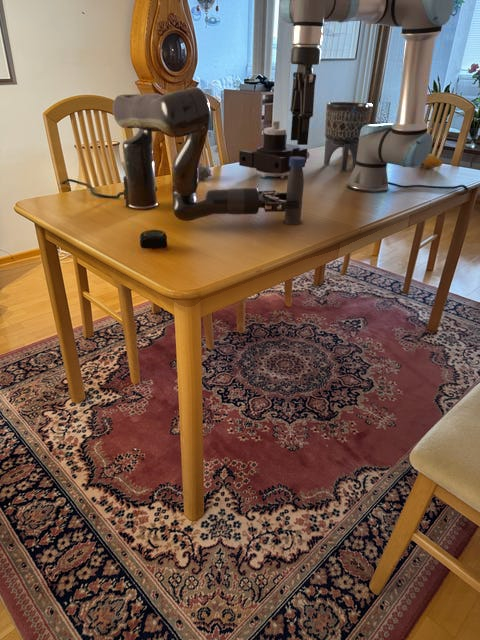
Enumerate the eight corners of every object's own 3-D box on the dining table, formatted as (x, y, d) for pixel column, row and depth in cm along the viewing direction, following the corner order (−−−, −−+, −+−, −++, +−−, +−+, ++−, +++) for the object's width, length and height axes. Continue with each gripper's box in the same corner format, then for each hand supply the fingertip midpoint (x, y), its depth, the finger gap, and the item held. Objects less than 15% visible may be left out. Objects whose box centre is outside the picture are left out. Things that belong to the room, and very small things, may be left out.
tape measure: (140, 252, 115) (139, 238, 113) (141, 242, 120) (140, 229, 119) (167, 251, 116) (166, 237, 114) (167, 241, 121) (166, 228, 120)
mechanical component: (240, 120, 182) (283, 115, 202) (239, 174, 192) (280, 164, 212) (283, 126, 170) (325, 120, 190) (280, 183, 180) (320, 171, 200)
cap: (286, 166, 130) (286, 158, 129) (293, 163, 133) (294, 155, 132) (300, 168, 128) (300, 160, 126) (307, 166, 131) (308, 157, 130)
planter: (313, 167, 208) (319, 103, 195) (331, 160, 222) (338, 101, 209) (353, 173, 199) (362, 107, 185) (369, 166, 213) (379, 104, 199)
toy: (416, 161, 206) (411, 154, 219) (419, 175, 209) (413, 167, 222) (442, 153, 203) (435, 147, 216) (444, 167, 206) (437, 160, 219)
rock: (203, 174, 190) (203, 158, 187) (216, 178, 185) (216, 162, 181) (177, 179, 183) (176, 162, 179) (189, 183, 177) (189, 166, 174)
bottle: (281, 222, 138) (286, 159, 129) (289, 218, 142) (293, 157, 132) (295, 225, 136) (301, 161, 127) (302, 221, 139) (308, 159, 130)
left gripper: (245, 195, 125) (302, 193, 127) (238, 182, 137) (290, 181, 139) (244, 221, 129) (300, 219, 131) (237, 207, 141) (288, 205, 143)
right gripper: (332, 46, 108) (322, 148, 119) (309, 47, 124) (302, 136, 136) (302, 45, 107) (294, 148, 118) (283, 46, 123) (278, 136, 135)
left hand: (295, 200), depth 135 cm, fingers open, 8 cm apart
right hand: (298, 142), depth 127 cm, fingers open, 7 cm apart
